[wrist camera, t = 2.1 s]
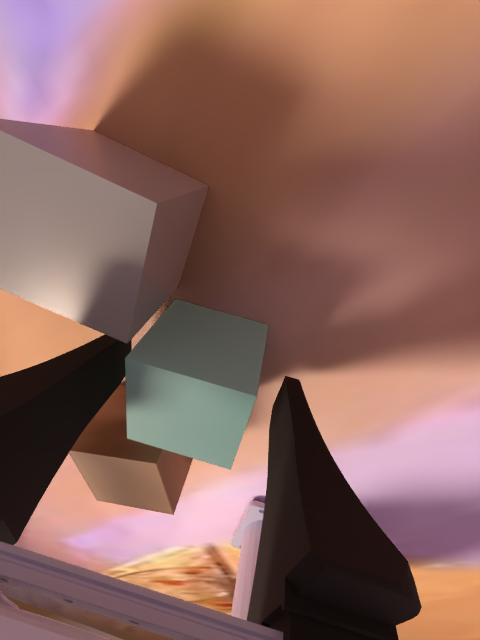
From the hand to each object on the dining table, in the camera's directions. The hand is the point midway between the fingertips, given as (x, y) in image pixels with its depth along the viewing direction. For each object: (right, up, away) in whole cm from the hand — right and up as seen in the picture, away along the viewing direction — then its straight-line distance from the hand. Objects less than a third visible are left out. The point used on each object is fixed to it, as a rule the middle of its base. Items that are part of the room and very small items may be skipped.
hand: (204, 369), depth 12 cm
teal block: (0, +1, +1) cm, 2 cm away
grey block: (-2, +6, -1) cm, 7 cm away
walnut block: (-3, -4, +5) cm, 7 cm away
